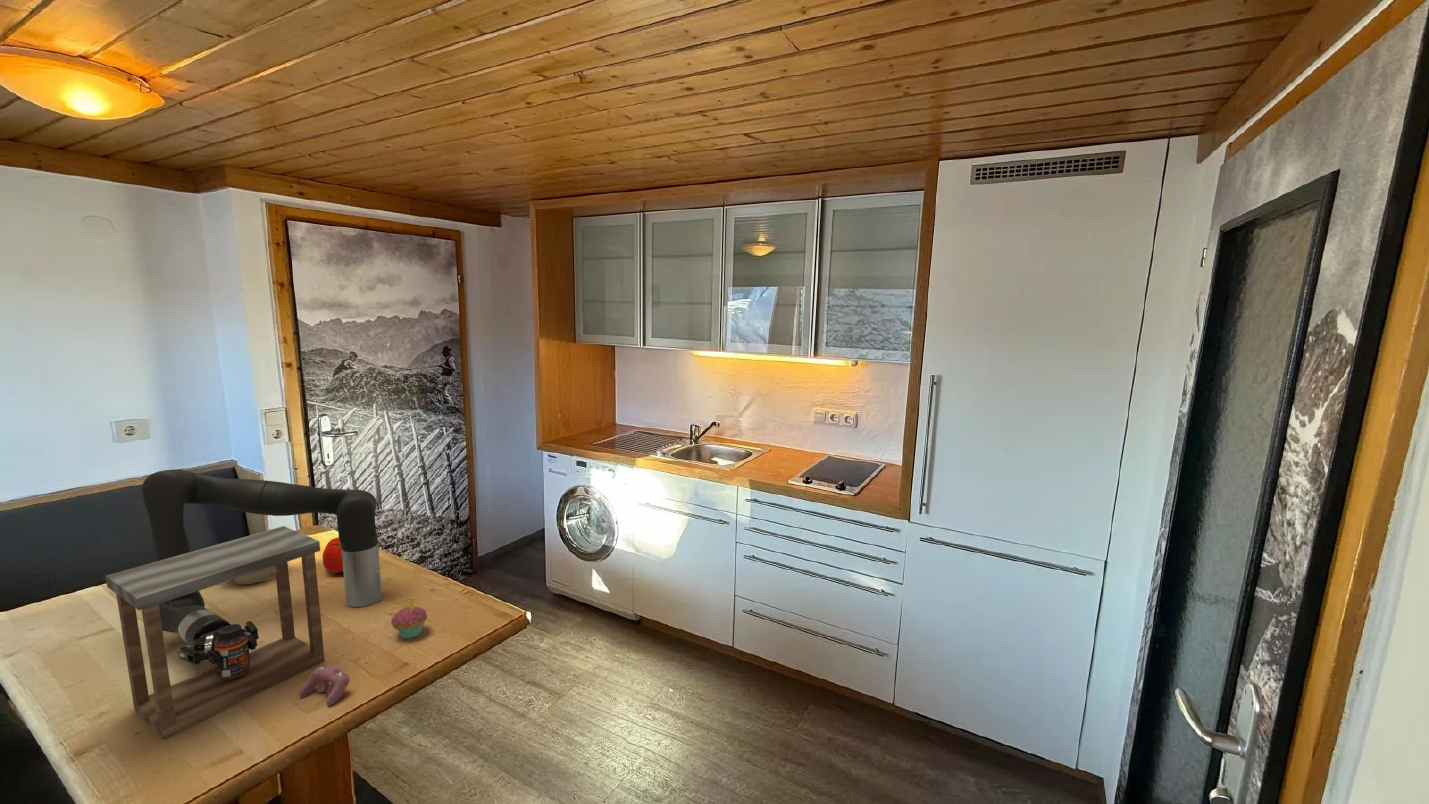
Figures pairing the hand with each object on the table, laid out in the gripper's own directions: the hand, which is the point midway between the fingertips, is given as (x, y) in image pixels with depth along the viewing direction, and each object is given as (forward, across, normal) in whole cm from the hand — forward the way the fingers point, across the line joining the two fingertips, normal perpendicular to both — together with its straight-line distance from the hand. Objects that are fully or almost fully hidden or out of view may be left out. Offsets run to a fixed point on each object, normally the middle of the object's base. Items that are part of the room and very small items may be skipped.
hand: (236, 652), depth 128 cm
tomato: (-40, +45, +10) cm, 61 cm away
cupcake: (+12, +33, +9) cm, 37 cm away
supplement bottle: (-2, 0, +6) cm, 7 cm away
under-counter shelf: (-2, 0, +9) cm, 9 cm away
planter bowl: (-58, +26, +10) cm, 64 cm away
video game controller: (+19, +9, +9) cm, 23 cm away
